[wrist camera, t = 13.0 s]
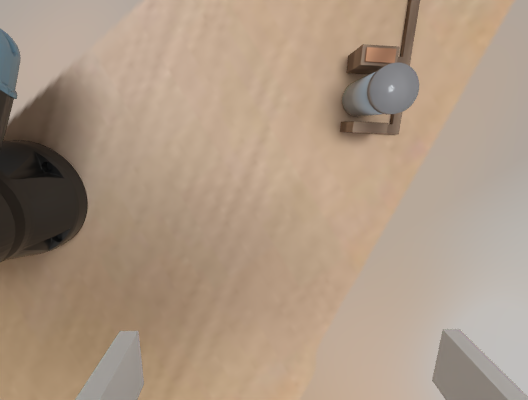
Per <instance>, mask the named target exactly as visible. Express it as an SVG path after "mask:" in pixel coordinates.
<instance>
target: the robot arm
mask: <svg viewBox="0 0 528 400" xmlns="http://www.w3.org/2000/svg"><path fill="white" fill-rule="evenodd" d="M19 65H20V52H19V49H18V47H17V45H16V43H15V42H14V41H13V39H12V38H11V37H10V36H9V35H8V34H7V33H6V32H4V31H3V30H2V29H0V262H2V261H4V260H6V259H11V258H17V257H23V256H29V255H35V254H41V253H45V252H48V251H50V250H53V249H55V248H57V247H59V246H60V245H62V244H64V243H65V242H67V241H68V240H70V239H71V238H72V237H74V236H75V235H76V233H77V232H78V231H79V230H80V228H81V226H82V225H83V222H84V220H85V217H86V212H87V198H86V192H85V189H84V186H83V183H82V181H81V179H80V177H79V176H78V174H77V172H76V171H75V170H74V168H73V167H72V166H71V165H70V164H69V163H68V162H67V161H66V160H65V159H64V158H63V157H62V156H60V155H59V154H58V153H56V152H55V151H53V150H51V149H49V148H48V147H45V146H43V145H40V144H37V143H34V142H29V141H3V140H4V136H5V132H6V128H7V124H8V120H9V116H10V112H11V108H12V104H13V100H14V99H17V93H16V91H15V87H16V82H17V76H18V70H19ZM432 381H433V382H434V384H435V385H436V386H437V388H438V389H439V391H440V392H441V394H442V395H443V396H444V398H445V399H446V400H528V396H527V395H526V394H525V393H523V391H522V390H521V389H520V388H519V387H518V386H517V385H516V384H515V383H514V382H513V381H511V379H509V378H508V376H506V375H505V374H504V373H503V372H502V371H501V370H500V369H499V368H498V367H497V366H496V365H495V364H494V363H493V362H492V361H491V360H490V359H489V358H488V357H487V356H486V355H485V354H484V353H483V352H482V351H481V350H480V349H479V348H478V347H477V346H476V345H475V344H474V343H473V342H472V341H471V340H470V339H469V338H468V337H467V336H466V335H465V334H464V333H463V332H462V331H461V330H460V329H443V331H442V336H441V340H440V345H439V351H438V355H437V360H436V365H435V369H434V374H433V380H432ZM143 385H144V379H143V369H142V360H141V350H140V341H139V331H120V332H119V333H118V335H117V336H116V338H115V339H114V341H113V342H112V344H111V345H110V347H109V349H108V350H107V352H106V353H105V355H104V356H103V358H102V359H101V361H100V362H99V364H98V365H97V367H96V368H95V370H94V371H93V373H92V375H91V376H90V378H89V379H88V381H87V382H86V384H85V385H84V387H83V388H82V390H81V391H80V393H79V394H78V396H77V397H76V399H75V400H137V399H138V397H139V394H140V392H141V390H142V387H143Z"/></svg>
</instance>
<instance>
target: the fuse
mask: <svg viewBox="0 0 528 400" xmlns="http://www.w3.org/2000/svg"><path fill="white" fill-rule="evenodd" d="M418 91H419V80H418V76H417V74H416V72H415V71H414V70H413V69H412V68H411V67H410V66H409V65H407V64H404V63H391V64H388V65H386V66H384V67H382V68H380V69H379V70H378V71H376V72H374V73H372V74H370V75H368V76H366V77H363V78H361V79H359V80H357V81H355V82H353V83H351V84H350V85H349V86H348V87H347V88H346V89H345V91H344V93H343V97H342V103H343V107H344V109H345V110H346V112H347V113H349V114H350V115H352V116H356V117H360V116H369V115H378V114H396V113H400V112H403V111H405V110H406V109H408V108H409V107H410V106H411V105H412V104H413V102H414V101H415V99H416V97H417V95H418Z"/></svg>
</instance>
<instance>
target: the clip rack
mask: <svg viewBox="0 0 528 400" xmlns="http://www.w3.org/2000/svg"><path fill="white" fill-rule="evenodd" d="M419 3H420V0H408V7H407V14H406V20H405V27H404V34H403V40H402V47H401V54H400V57H398V53H399V47H396V46H379V45H362V46H360V47H359V48H358V49H357V50H355V51H354V52H353V53H351V54H350V55H349V56H348V65H347V73H355V74H372V73H374V72H376V71H378V70H379V69H380V68H382V67H384V66H386V65H388V64H391V63H404V64H407V65H409V66H410V60H411V54H412V47H413V41H414V35H415V29H416V22H417V16H418V10H419ZM401 117H402V112H400V113H396V114H391V120H390V124H388V123H374V122H354V121H353V122H341V129H340V132H358V133H379V134H399V129H400V123H401Z"/></svg>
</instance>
